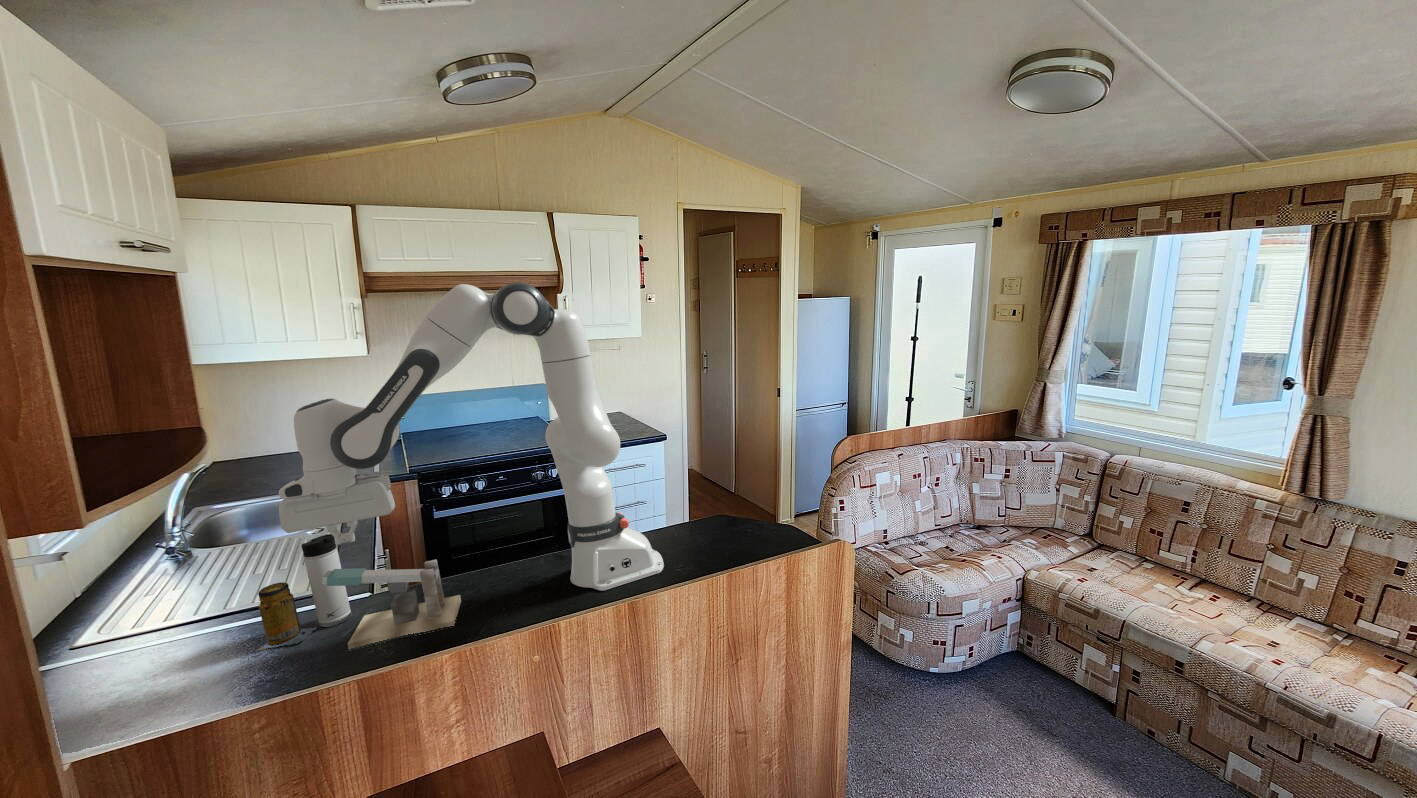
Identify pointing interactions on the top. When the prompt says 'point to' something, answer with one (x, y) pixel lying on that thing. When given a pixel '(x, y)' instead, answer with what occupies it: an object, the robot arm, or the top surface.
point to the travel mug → (319, 561)
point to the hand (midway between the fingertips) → (346, 542)
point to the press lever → (375, 577)
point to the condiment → (278, 614)
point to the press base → (391, 630)
